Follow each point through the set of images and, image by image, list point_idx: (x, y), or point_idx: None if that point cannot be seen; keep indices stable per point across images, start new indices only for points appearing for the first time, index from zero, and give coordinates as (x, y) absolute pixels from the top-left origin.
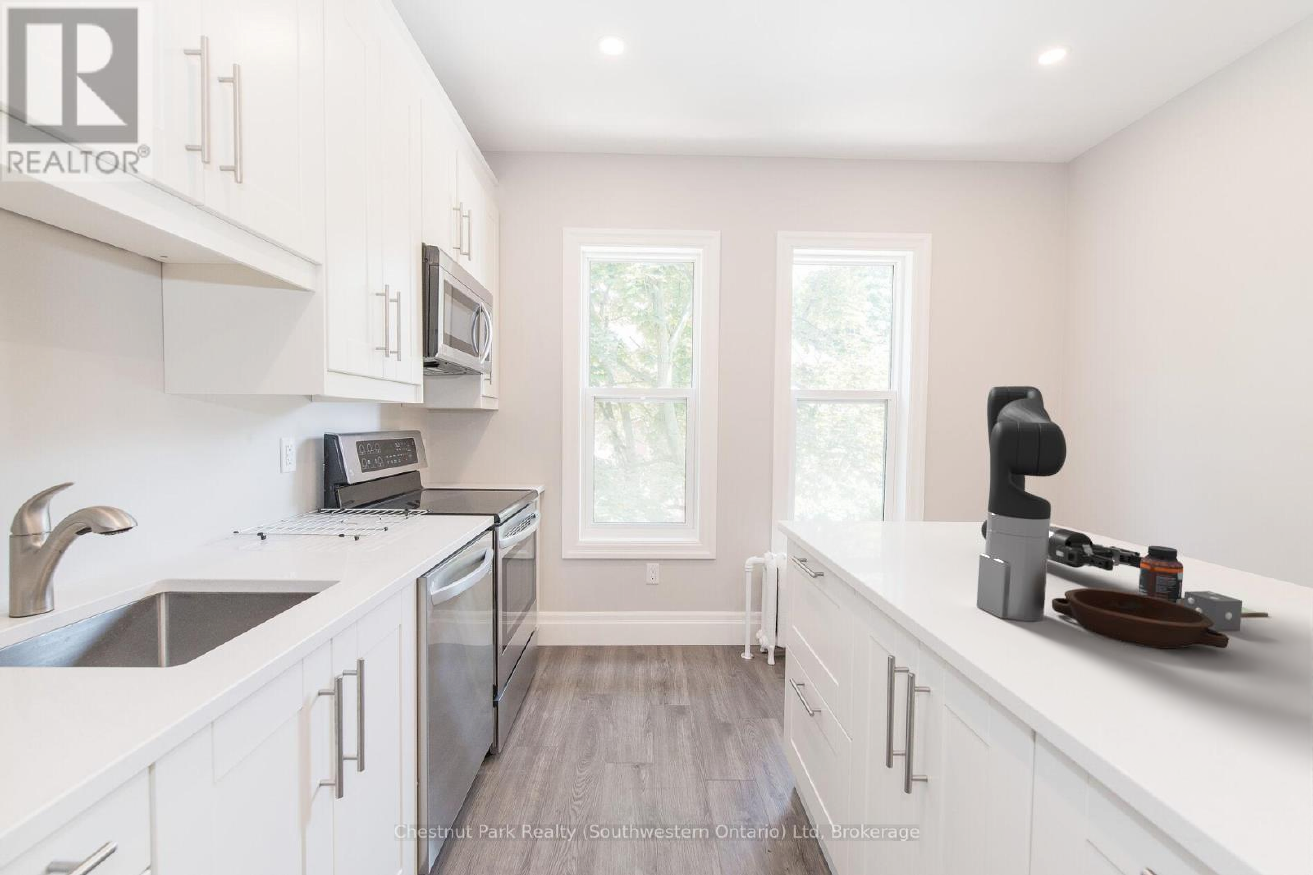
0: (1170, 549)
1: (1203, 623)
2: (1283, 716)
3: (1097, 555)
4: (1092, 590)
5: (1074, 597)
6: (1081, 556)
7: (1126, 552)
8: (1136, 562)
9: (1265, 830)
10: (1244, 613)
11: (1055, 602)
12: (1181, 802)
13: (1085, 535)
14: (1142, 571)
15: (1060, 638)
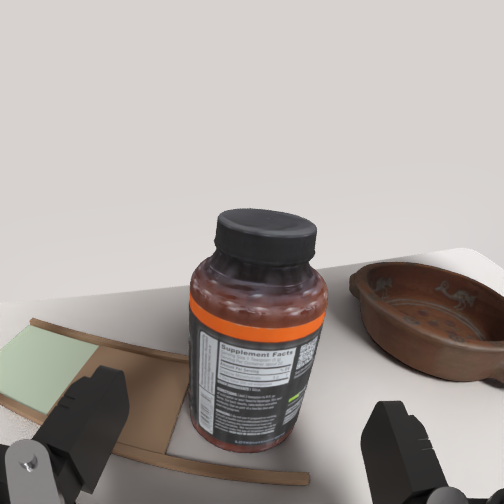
0: (265, 211)
1: (391, 262)
2: (402, 260)
3: (414, 478)
4: (489, 341)
5: None
6: (487, 500)
7: (15, 487)
8: (97, 447)
9: (465, 250)
10: (77, 332)
11: None
12: (483, 257)
13: None
14: (319, 337)
15: None
